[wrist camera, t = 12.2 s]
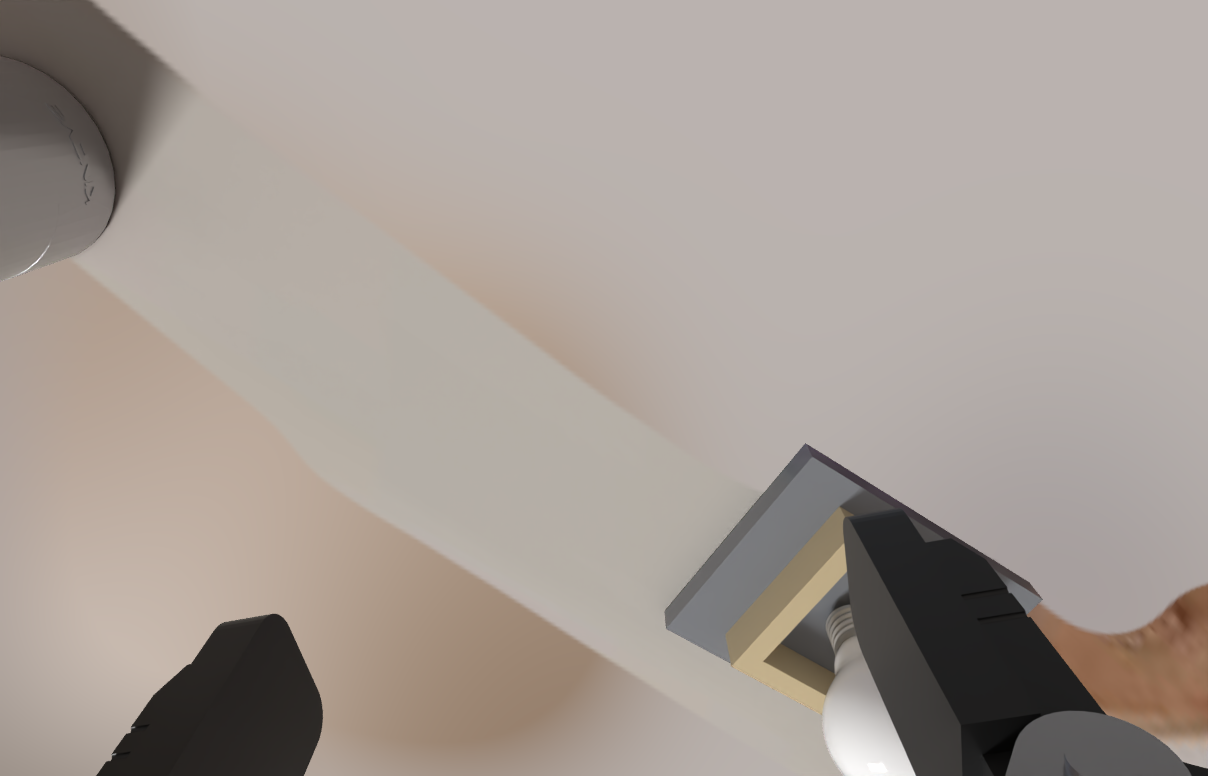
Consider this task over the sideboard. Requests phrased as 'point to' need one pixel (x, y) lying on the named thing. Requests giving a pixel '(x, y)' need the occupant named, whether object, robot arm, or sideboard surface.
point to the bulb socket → (792, 578)
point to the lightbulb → (858, 710)
